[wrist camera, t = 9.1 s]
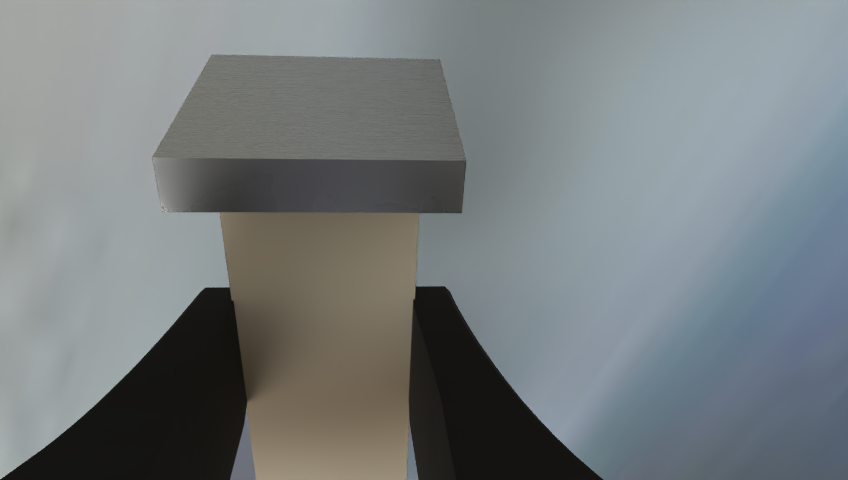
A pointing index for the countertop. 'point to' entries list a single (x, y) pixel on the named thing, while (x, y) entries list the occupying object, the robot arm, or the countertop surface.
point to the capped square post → (319, 241)
